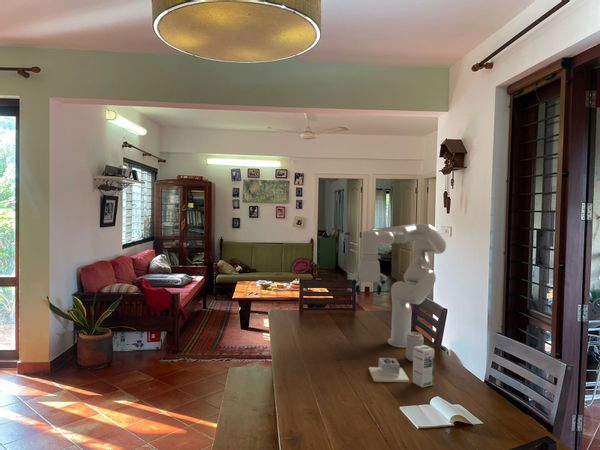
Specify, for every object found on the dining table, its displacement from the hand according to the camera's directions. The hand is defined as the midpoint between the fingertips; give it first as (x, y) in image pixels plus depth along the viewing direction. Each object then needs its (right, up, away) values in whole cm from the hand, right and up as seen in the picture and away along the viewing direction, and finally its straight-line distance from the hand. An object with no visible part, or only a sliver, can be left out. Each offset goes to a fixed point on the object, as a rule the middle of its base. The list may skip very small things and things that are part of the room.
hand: (368, 293), depth 194 cm
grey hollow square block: (+4, -29, -23) cm, 37 cm away
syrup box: (+16, -31, -30) cm, 46 cm away
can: (+20, -29, -4) cm, 36 cm away
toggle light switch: (+4, -30, -24) cm, 38 cm away
